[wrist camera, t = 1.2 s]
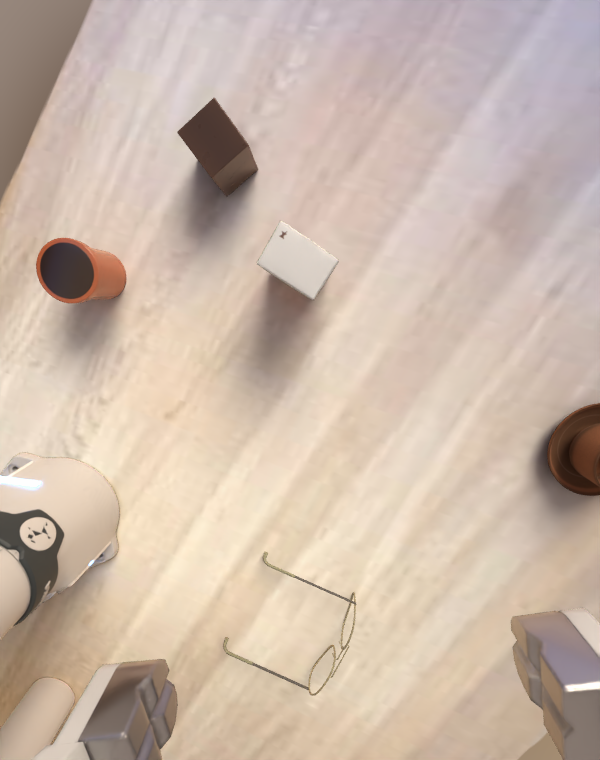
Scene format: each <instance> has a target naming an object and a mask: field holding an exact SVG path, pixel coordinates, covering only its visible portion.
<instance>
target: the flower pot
mask: <svg viewBox="0 0 600 760" xmlns="http://www.w3.org/2000/svg"><path fill="white" fill-rule="evenodd" d="M36 269H37V275H38V278H39V281H40V283H41V285H42V286H43V288H44V289H45V290H46V291H47V292H48V293H49V294H50V295H51V296H52V297H54V298H55V299H57V300H59V301H62V302H65V303H83V302H86V301H88V300H107V299H112V298H115V297H116V296H118V295H119V294H120V293H121V292H122V290H123V289H124V287H125V283H126V272H125V269H124V266H123V265H122V263H121V261H120V260H119V259H118V258H117V257H116V256H114V255H113V254H111V253H109V252H106V251H102V250H98V249H94V248H90V247H89V246H87V245H86V244H84V243H82V242H80V241H77V240H74V239H70V238H58V239H54V240H52V241H50V242H48V243H47V244H46V245H45V246H44V247H43V248H42V249H41V251H40V252H39V255H38V258H37V263H36Z"/></svg>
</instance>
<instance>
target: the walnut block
mask: <svg viewBox="0 0 600 760" xmlns="http://www.w3.org/2000/svg"><path fill="white" fill-rule="evenodd" d="M178 134H179V135H180V137H181V138H182V139H183V141H184V142H185V143H186V145H187V146H188V147H189V149H190V150H191V151H192V153H193V154H194V155H195V157H196V158H197V159H198V161H199V162H200V163H201V165H202V166H203V167H204V169H205V170H206V171H207V173H208V174H209V175H210V177H211V178H212V179H213V181H214V182H215V183H216V184H217V186H218V187H219V188H220V189H221V190H222V192H223V193H224V194H225V195H226V197H227V196H228V195H229V194H231V193H232V192H233V191H234V190H235V189H236V188H237V187H239V186H240V185H241V184H242V183H243V182H244V181H245V180H247V179H248V178H249V177H250V176H251V175H252V174H253V173H255V172H256V171H257V170H258V168H257V165H256V163H255V160H254V158H253V155H252V153H251V150H250V147H249V145H248V143H247V142H246V141H245V139H244V138H243V136H242V135H241V134H240V132H239V131H238V129H237V128H236V127H235V125H234V124H233V123H232V121H231V120H230V118H229V117H228V116H227V114H226V113H225V111H224V110H223V109H222V107H221V106H220V104H219V103H218V102H217V100H216V99H215V98H213V99H212V100H211V101H210V102H209V103H208V104H207V105H206V106H205V107H204V108H203V109H201V110H200V111H199V112H198V113H197V114H196V115H195V116H194V117H193V118H192V119H191V120H190V121H189V122H188V123H186V124H185V125H184V126H183V127H182V128H181V129H180V130H179V131H178Z"/></svg>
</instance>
